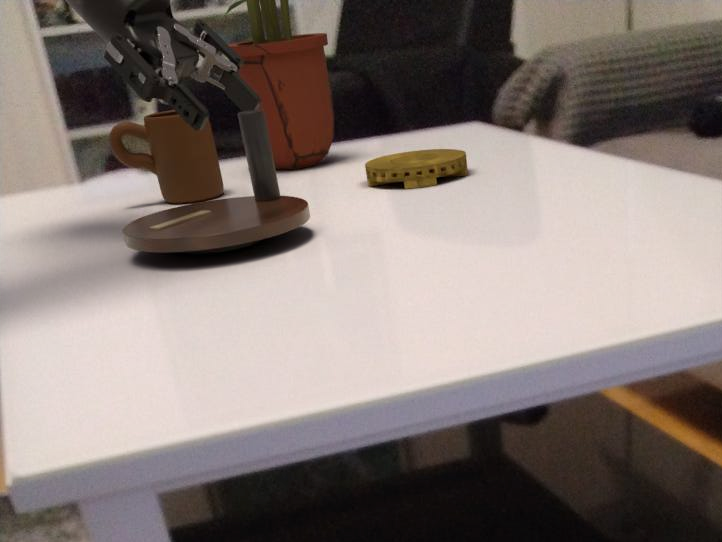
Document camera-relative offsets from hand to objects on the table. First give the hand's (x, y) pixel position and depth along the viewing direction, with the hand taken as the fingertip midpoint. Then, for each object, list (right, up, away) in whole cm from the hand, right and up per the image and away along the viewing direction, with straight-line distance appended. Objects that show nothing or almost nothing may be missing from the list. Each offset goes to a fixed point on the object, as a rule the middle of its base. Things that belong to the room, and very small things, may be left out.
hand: (231, 116), depth 101 cm
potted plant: (+1, +12, +36) cm, 38 cm away
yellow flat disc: (+17, +3, +21) cm, 27 cm away
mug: (-13, +2, +24) cm, 27 cm away
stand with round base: (-1, -13, 0) cm, 13 cm away
